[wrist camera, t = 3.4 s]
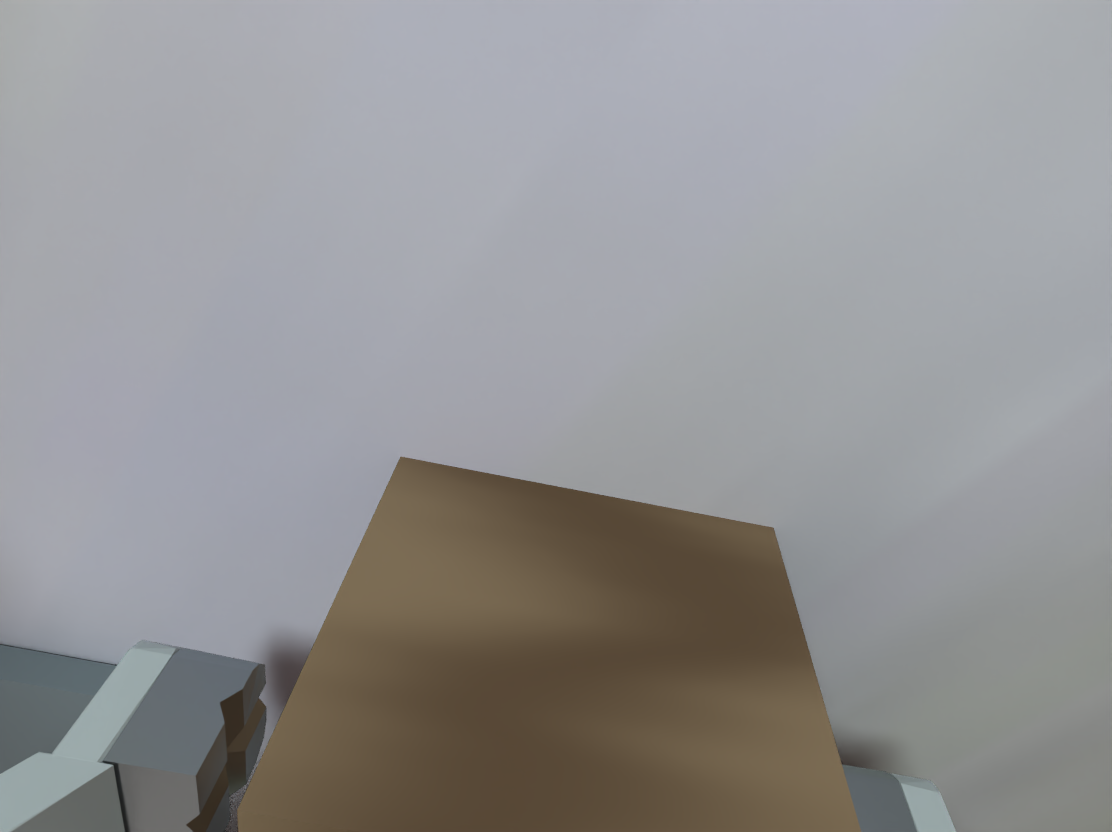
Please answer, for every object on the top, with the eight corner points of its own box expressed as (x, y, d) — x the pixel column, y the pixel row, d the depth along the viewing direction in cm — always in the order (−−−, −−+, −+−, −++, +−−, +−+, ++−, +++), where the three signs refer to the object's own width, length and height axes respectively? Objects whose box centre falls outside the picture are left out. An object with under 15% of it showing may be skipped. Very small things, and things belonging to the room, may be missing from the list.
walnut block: (772, 524, 10) (887, 924, 6) (676, 760, 13) (707, 1165, 8) (401, 453, 10) (236, 810, 6) (377, 705, 12) (250, 1089, 8)
